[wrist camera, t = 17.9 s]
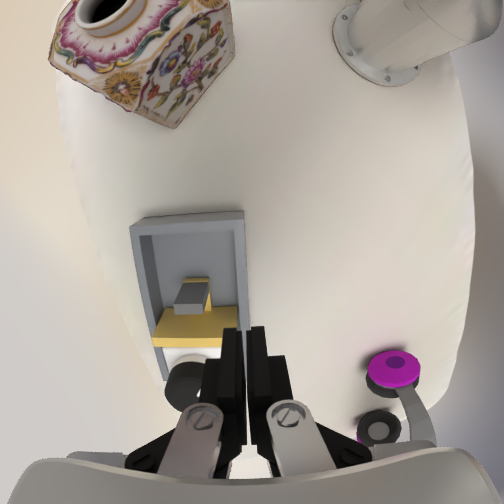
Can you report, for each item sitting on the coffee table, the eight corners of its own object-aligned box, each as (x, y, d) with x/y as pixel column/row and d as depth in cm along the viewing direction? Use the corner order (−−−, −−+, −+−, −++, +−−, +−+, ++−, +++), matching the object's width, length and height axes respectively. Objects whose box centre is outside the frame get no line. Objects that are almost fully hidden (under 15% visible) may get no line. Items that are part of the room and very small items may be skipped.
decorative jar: (175, 132, 30) (102, 107, 13) (106, 87, 27) (11, 49, 10) (239, 54, 27) (235, -36, 10) (165, 14, 25) (115, -68, 8)
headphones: (359, 352, 40) (411, 453, 21) (408, 339, 40) (470, 424, 21) (349, 427, 46) (376, 508, 27) (389, 416, 46) (423, 490, 27)
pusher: (160, 279, 34) (143, 305, 27) (235, 276, 34) (233, 303, 27) (167, 315, 35) (153, 346, 29) (237, 314, 36) (236, 346, 29)
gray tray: (144, 217, 33) (129, 227, 28) (243, 210, 33) (243, 219, 28) (170, 358, 39) (163, 380, 35) (251, 357, 39) (252, 381, 35)
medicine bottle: (183, 358, 38) (167, 421, 27) (173, 315, 36) (149, 376, 24) (233, 356, 38) (231, 422, 27) (228, 313, 36) (222, 377, 24)
